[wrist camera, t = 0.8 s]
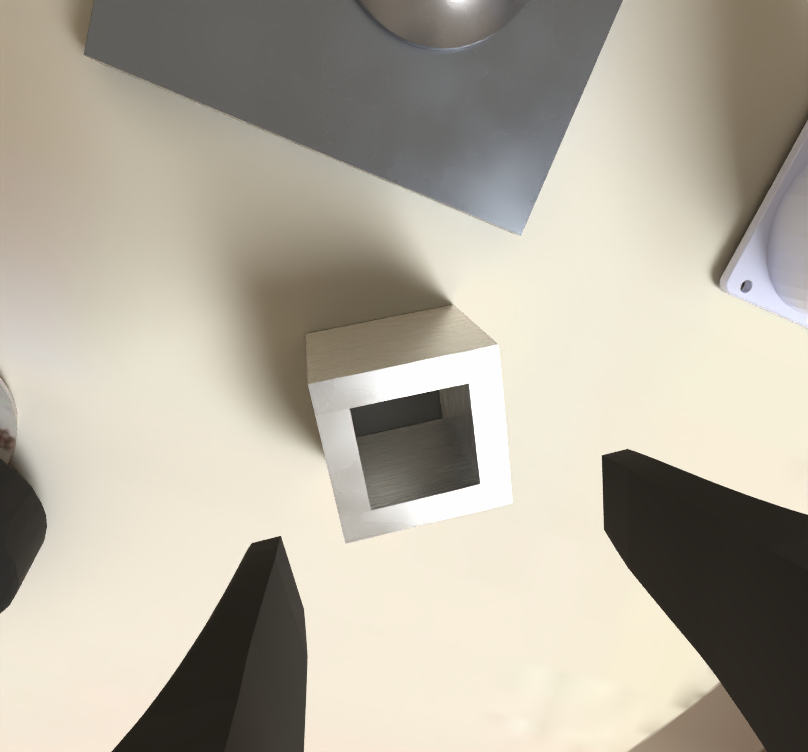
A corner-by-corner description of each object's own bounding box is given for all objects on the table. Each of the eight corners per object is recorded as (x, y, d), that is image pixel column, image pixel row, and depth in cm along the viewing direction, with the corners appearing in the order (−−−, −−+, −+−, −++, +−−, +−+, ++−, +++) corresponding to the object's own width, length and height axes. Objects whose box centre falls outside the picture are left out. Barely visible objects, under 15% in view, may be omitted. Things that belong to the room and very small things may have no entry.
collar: (453, 304, 20) (498, 344, 16) (468, 434, 22) (512, 502, 18) (305, 334, 20) (307, 384, 15) (335, 464, 22) (345, 543, 17)
